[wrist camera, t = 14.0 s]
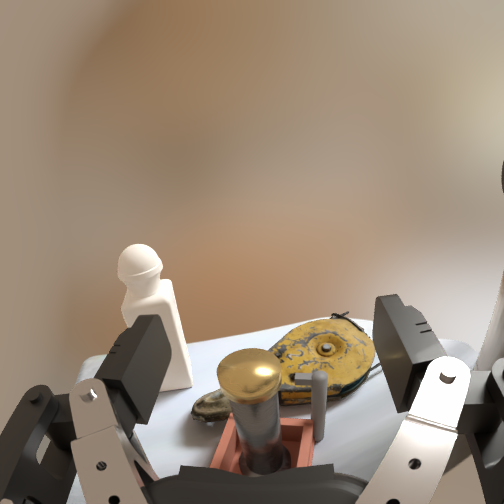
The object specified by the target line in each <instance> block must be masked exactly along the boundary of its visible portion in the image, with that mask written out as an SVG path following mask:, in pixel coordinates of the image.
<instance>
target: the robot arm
mask: <svg viewBox="0 0 504 504" xmlns="http://www.w3.org/2000/svg"><path fill="white" fill-rule="evenodd" d="M502 189H503V193H504V162H503V166H502ZM373 343H374V347H375V350H376V353H377V355H378V358H379V361H380V363H381V366H382V369H383V372H384V375H385V377H386V380H387V383H388V386H389V389H390V392H391V395H392V398H393V401H394V404H395V407H396V410H397V413H402V412H406V411H408V412H409V414H408V415H407V416H406V418H405V419H404V421H403V423H402V425H401V427H400V429H399V431H398V433H397V435H396V437H395V439H394V441H393V443H392V444H391V446H390V448H389V450H388V452H387V453H386V455H385V457H384V459H383V460H382V462H381V464H380V466H379V467H378V469H377V471H376V472H375V474H374V475H373V477H372V479H371V480H370V482H367V481H366V480H363V479H361V478H358V477H355V476H352V475H348V474H342V473H334V466H333V464H326V465H317V466H307V467H294V468H291V469H287V470H283V471H280V472H276V473H272V474H268V475H263V476H259V477H249V476H245V475H241V474H236V473H232V472H229V471H225V470H221V469H217V468H206V467H193V466H182V465H181V466H180V471H179V475H173V476H168V477H165V478H162V479H159V477H158V476H157V475H156V473H155V472H154V470H153V468H152V466H151V464H150V462H149V460H148V458H147V456H146V454H145V452H144V450H143V448H142V446H141V444H140V441H139V439H138V437H137V435H136V433H135V431H134V430H133V429H134V426H135V424H136V423H137V424H145V425H147V424H148V421H149V418H150V416H151V413H152V410H153V407H154V405H155V402H156V399H157V396H158V394H159V391H160V388H161V385H162V383H163V380H164V377H165V375H166V372H167V369H168V367H169V364H170V361H171V357H172V350H171V345H170V342H169V339H168V337H167V334H166V331H165V328H164V325H163V322H162V319H161V317H160V316H159V315H158V314H149V315H139V316H138V317H137V319H136V320H135V322H134V324H133V325H132V327H128V328H127V329H126V330H125V331H124V332H123V333H121V334H120V335H119V337H118V338H117V340H116V341H115V343H114V346H113V347H112V348H111V350H110V351H109V354H107V356H106V358H105V359H104V361H103V363H102V364H101V366H100V368H99V370H98V371H97V373H96V375H95V376H94V378H90V379H85V380H83V381H81V382H79V383H78V384H76V385H75V386H74V387H73V388H72V390H71V392H70V394H62V395H54V394H53V393H52V391H51V390H50V389H49V387H48V386H46V385H37V386H34V387H33V388H31V389H29V390H28V391H27V392H26V393H25V395H24V396H23V397H22V399H21V401H20V402H19V404H18V405H17V407H16V409H15V411H14V412H13V414H12V416H11V417H10V419H9V421H8V423H7V424H6V426H5V428H4V430H3V431H2V433H1V435H0V504H66V502H67V499H68V496H69V493H70V490H71V487H72V485H73V482H74V479H75V476H76V473H78V477H79V481H80V484H81V487H82V491H83V494H84V497H85V500H86V503H87V504H429V503H430V501H431V499H432V496H433V495H434V492H435V490H436V488H437V486H438V483H439V481H440V479H441V477H442V474H443V472H444V469H445V467H446V464H447V462H448V459H449V457H450V454H451V451H452V449H453V446H454V443H455V440H456V437H457V434H466V437H467V440H468V443H469V446H470V449H471V452H472V455H473V458H474V462H475V465H476V468H477V472H478V475H479V479H480V482H481V486H482V490H483V494H484V498H485V502H486V504H504V271H503V276H502V280H501V285H500V289H499V293H498V297H497V301H496V304H495V308H494V311H493V315H492V318H491V321H490V325H489V328H488V331H487V334H486V337H485V340H484V343H483V345H482V348H481V351H480V353H479V356H478V359H477V361H476V364H475V366H474V370H473V371H469V370H468V368H467V367H466V365H465V364H464V363H463V362H461V361H459V360H457V359H455V358H450V357H448V355H447V354H446V352H445V350H444V349H443V347H442V345H441V344H440V342H439V340H438V339H437V337H436V335H435V334H434V332H433V331H432V329H431V327H430V326H429V324H427V321H426V319H425V318H424V316H423V315H422V313H421V312H419V311H418V310H417V309H415V308H414V307H412V306H404V304H403V303H402V301H401V299H400V298H399V296H398V295H397V294H393V295H386V296H378V297H377V298H376V302H375V312H374V322H373ZM44 435H46V436H47V437H48V438H49V439H50V440H51V441H50V443H49V446H48V448H47V450H46V452H45V454H44V457H43V459H42V461H41V464H39V463H38V461H37V459H36V452H37V450H38V447H39V445H40V443H41V441H42V439H43V437H44Z"/></svg>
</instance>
